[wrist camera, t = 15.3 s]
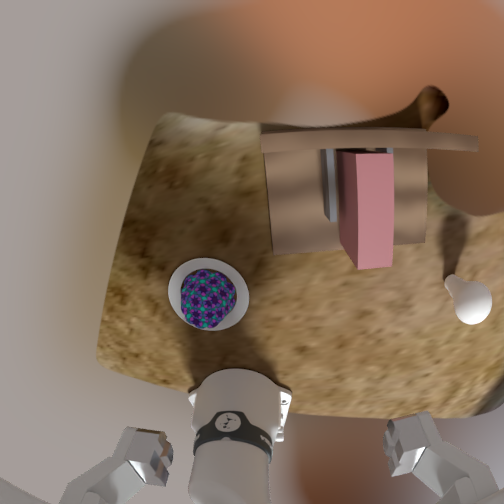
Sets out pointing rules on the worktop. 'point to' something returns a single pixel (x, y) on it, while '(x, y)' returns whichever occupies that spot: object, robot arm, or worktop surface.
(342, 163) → the book
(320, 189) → the shelf stand
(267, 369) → the worktop surface
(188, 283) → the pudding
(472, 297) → the lightbulb
